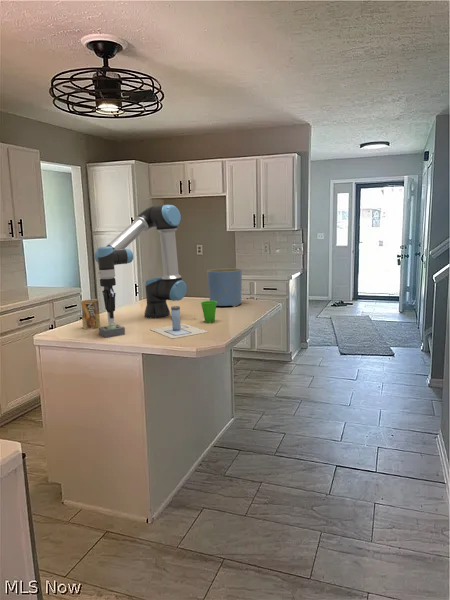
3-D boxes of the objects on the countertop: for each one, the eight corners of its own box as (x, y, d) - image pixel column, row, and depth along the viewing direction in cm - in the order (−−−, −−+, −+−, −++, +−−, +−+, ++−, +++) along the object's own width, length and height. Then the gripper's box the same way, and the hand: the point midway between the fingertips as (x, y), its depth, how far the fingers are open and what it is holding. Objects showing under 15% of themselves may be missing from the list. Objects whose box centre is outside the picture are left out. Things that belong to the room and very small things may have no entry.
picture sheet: (149, 329, 238) (149, 329, 238) (183, 324, 249) (183, 323, 249) (172, 338, 217) (172, 338, 217) (208, 332, 227) (208, 331, 227)
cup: (216, 323, 248) (215, 303, 246) (199, 323, 250) (198, 303, 248) (219, 319, 257) (218, 300, 255) (203, 319, 258) (202, 300, 257)
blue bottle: (170, 330, 234) (169, 307, 232) (178, 328, 236) (176, 305, 235) (175, 331, 230) (173, 308, 228) (182, 330, 233) (181, 306, 231)
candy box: (99, 325, 254) (96, 298, 251) (100, 327, 250) (98, 299, 248) (82, 328, 250) (80, 300, 248) (84, 329, 246) (81, 301, 244)
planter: (205, 308, 296) (203, 272, 292) (212, 302, 318) (210, 268, 314) (240, 307, 292) (239, 271, 288) (244, 301, 314) (243, 267, 310)
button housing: (99, 334, 233) (98, 327, 233) (118, 331, 238) (117, 324, 238) (105, 337, 225) (104, 330, 224) (125, 334, 230) (124, 327, 230)
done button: (106, 333, 232) (105, 325, 232) (114, 332, 235) (114, 324, 234) (109, 335, 228) (108, 327, 228) (117, 333, 231) (117, 325, 230)
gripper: (95, 277, 231) (100, 323, 234) (104, 279, 220) (108, 327, 224) (110, 276, 234) (114, 321, 238) (119, 278, 224) (123, 325, 228)
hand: (111, 324), depth 231 cm, fingers closed
